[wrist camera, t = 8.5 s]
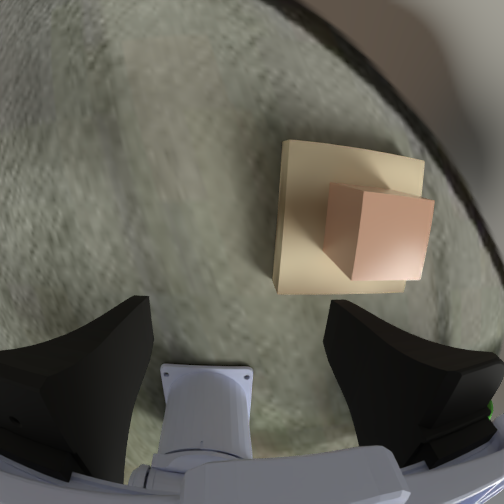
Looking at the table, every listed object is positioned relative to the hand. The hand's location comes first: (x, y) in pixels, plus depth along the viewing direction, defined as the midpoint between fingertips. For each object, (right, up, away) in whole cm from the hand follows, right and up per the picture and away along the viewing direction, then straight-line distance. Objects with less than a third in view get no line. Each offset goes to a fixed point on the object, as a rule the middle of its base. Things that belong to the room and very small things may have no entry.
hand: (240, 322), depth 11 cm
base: (+7, +5, +10) cm, 13 cm away
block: (+7, +5, +7) cm, 12 cm away
